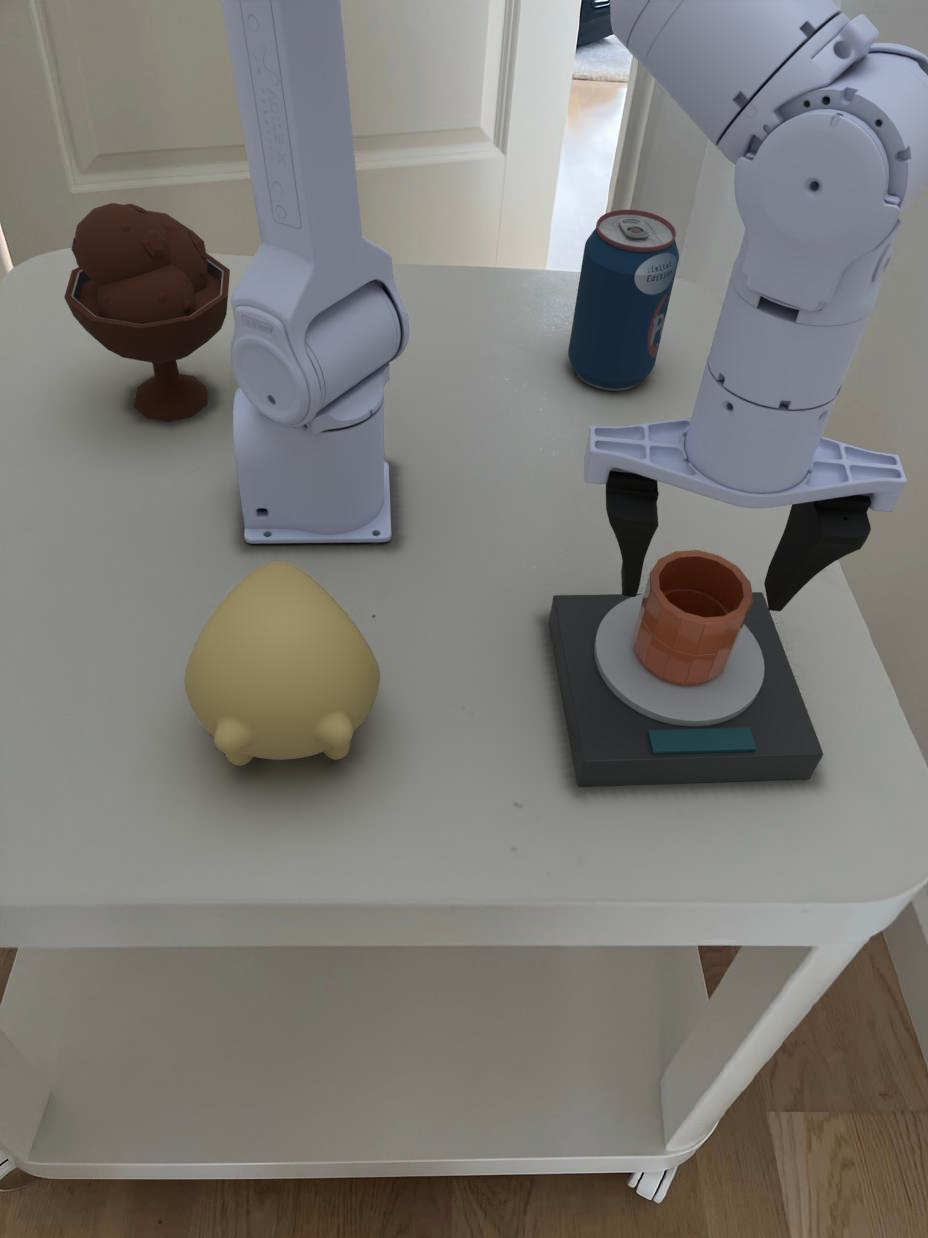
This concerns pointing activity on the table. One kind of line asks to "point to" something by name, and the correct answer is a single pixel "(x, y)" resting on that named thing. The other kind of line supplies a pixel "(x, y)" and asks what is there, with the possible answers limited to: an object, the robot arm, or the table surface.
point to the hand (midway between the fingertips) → (700, 590)
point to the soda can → (622, 298)
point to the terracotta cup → (691, 616)
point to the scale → (676, 703)
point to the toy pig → (281, 670)
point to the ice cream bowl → (148, 299)
